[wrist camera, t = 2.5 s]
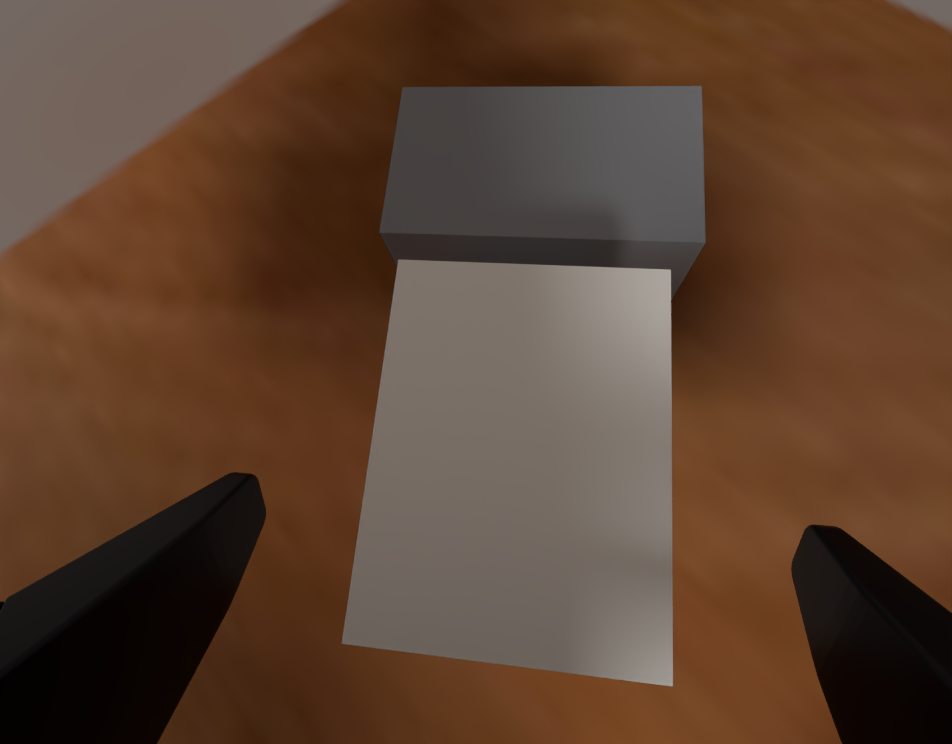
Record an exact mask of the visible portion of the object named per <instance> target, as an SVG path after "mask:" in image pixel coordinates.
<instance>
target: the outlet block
mask: <svg viewBox="0 0 952 744" xmlns="http://www.w3.org/2000/svg"><path fill="white" fill-rule="evenodd" d="M379 233H380V235H381V237H382V239H383V241H384V243H385V245H386V247H387V249H388V251H389V253H390V255H391V256H392V258H393V260H394V262H395V264H396V266H397V265H398V259H399V260H426V261H452V262H479V263H506V264H533V265H560V266H587V267H614V268H641V269H668V270H671V300H672V298H673V297H674V295H675V293H676V292H677V290H678V288H679V287H680V285H681V283H682V282H683V280H684V278H685V277H686V275H687V273H688V272H689V270H690V268H691V266H692V265H693V263H694V261H695V260H696V258H697V256H698V255H699V253H700V251H701V250H702V248H703V246H704V245H705V243H706V237H705V197H704V156H703V115H702V86H554V87H403V88H402V94H401V100H400V106H399V112H398V119H397V125H396V131H395V137H394V143H393V150H392V156H391V162H390V168H389V175H388V181H387V187H386V193H385V199H384V206H383V212H382V218H381V224H380V230H379Z"/></svg>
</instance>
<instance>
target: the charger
mask: <svg viewBox="0 0 952 744" xmlns="http://www.w3.org/2000/svg"><path fill="white" fill-rule="evenodd" d="M342 644H348V645H355V646H363V647H371V648H379V649H386V650H394V651H402V652H410V653H417V654H425V655H433V656H441V657H448V658H456V659H464V660H472V661H479V662H487V663H495V664H502V665H510V666H518V667H526V668H533V669H541V670H549V671H557V672H564V673H572V674H580V675H588V676H595V677H603V678H611V679H619V680H626V681H634V682H642V683H649V684H657V685H665V686H673V608H672V399H671V270H668V269H641V268H614V267H587V266H560V265H533V264H506V263H479V262H452V261H426V260H399V259H398V265H397V272H396V279H395V286H394V293H393V299H392V306H391V313H390V320H389V326H388V333H387V340H386V347H385V353H384V360H383V367H382V374H381V380H380V387H379V394H378V401H377V408H376V414H375V421H374V428H373V435H372V441H371V448H370V455H369V462H368V468H367V475H366V482H365V489H364V495H363V502H362V509H361V516H360V523H359V529H358V536H357V543H356V550H355V556H354V563H353V570H352V577H351V583H350V590H349V597H348V604H347V611H346V617H345V624H344V631H343V638H342Z"/></svg>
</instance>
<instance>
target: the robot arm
mask: <svg viewBox="0 0 952 744" xmlns="http://www.w3.org/2000/svg"><path fill="white" fill-rule="evenodd" d="M265 518H266V508H265V504H264V500H263V496H262V492H261V489H260V485H259V481H258V478H257V477H256V476H255V475H253V474H248V473H237V472H234V473H229V474H227V475H225V476H224V477H222V478H220V479H218V480H217V481H215V482H213V483H211V484H209V485H208V486H206V487H204V488H202V489H201V490H199V491H197V492H195V493H193V494H192V495H190V496H188V497H186V498H184V499H183V500H181V501H179V502H177V503H176V504H174V505H172V506H170V507H168V508H167V509H165V510H163V511H161V512H159V513H158V514H156V515H154V516H152V517H151V518H149V519H147V520H145V521H143V522H142V523H140V524H138V525H136V526H134V527H133V528H131V529H129V530H127V531H126V532H124V533H122V534H120V535H118V536H117V537H115V538H113V539H111V540H109V541H108V542H106V543H104V544H102V545H101V546H99V547H97V548H95V549H93V550H92V551H90V552H88V553H86V554H84V555H83V556H81V557H79V558H77V559H76V560H74V561H72V562H70V563H68V564H67V565H65V566H63V567H61V568H59V569H58V570H56V571H54V572H52V573H50V574H49V575H47V576H45V577H43V578H42V579H40V580H38V581H36V582H34V583H33V584H31V585H29V586H27V587H25V588H24V589H22V590H20V591H18V592H17V593H15V594H13V595H11V596H9V597H8V598H7V599H6V600H5V602H0V744H157V743H158V741H159V739H160V737H161V735H162V733H163V731H164V729H165V728H166V726H167V724H168V722H169V720H170V718H171V716H172V714H173V713H174V711H175V709H176V707H177V705H178V703H179V701H180V699H181V697H182V696H183V694H184V692H185V690H186V688H187V686H188V684H189V682H190V681H191V679H192V677H193V675H194V673H195V671H196V669H197V667H198V665H199V664H200V662H201V660H202V658H203V656H204V654H205V652H206V650H207V649H208V647H209V645H210V643H211V641H212V639H213V637H214V635H215V633H216V632H217V630H218V628H219V626H220V624H221V622H222V620H223V618H224V616H225V615H226V613H227V611H228V609H229V607H230V605H231V602H232V600H233V598H234V596H235V593H236V591H237V589H238V586H239V584H240V581H241V579H242V577H243V574H244V572H245V569H246V567H247V564H248V562H249V559H250V557H251V554H252V552H253V550H254V547H255V545H256V542H257V540H258V537H259V535H260V532H261V530H262V527H263V525H264V522H265ZM791 571H792V578H793V582H794V586H795V590H796V594H797V598H798V602H799V606H800V610H801V614H802V618H803V622H804V626H805V630H806V634H807V638H808V642H809V646H810V650H811V654H812V658H813V662H814V665H815V669H816V673H817V676H818V679H819V682H820V685H821V688H822V691H823V693H824V696H825V699H826V702H827V704H828V707H829V710H830V713H831V715H832V718H833V721H834V723H835V726H836V729H837V732H838V734H839V737H840V740H841V742H842V744H952V613H951V612H950V611H948V610H947V609H946V608H945V607H943V606H942V605H941V604H939V603H938V602H937V601H935V600H934V599H933V598H931V597H930V596H929V595H928V594H926V593H925V592H924V591H922V590H921V589H920V588H918V587H917V586H916V585H914V584H913V583H912V582H910V581H909V580H908V579H907V578H905V577H904V576H903V575H901V574H900V573H899V572H897V571H896V570H895V569H893V568H892V567H891V566H890V565H888V564H887V563H886V562H884V561H883V560H882V559H880V558H879V557H878V556H876V555H875V554H874V553H873V552H871V551H870V550H869V549H867V548H866V547H865V546H863V545H862V544H861V543H859V542H858V541H857V540H855V539H854V538H853V537H852V536H850V535H849V534H848V533H846V532H845V531H844V530H842V529H840V528H838V527H834V526H824V525H809V526H808V527H807V528H806V529H805V531H804V533H803V535H802V538H801V540H800V543H799V545H798V548H797V550H796V553H795V555H794V558H793V561H792V568H791Z"/></svg>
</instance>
